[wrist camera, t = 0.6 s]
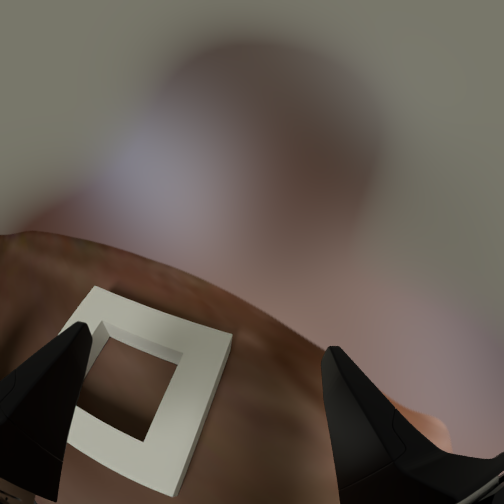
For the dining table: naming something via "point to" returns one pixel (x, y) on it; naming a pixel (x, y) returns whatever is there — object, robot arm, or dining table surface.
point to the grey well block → (174, 401)
